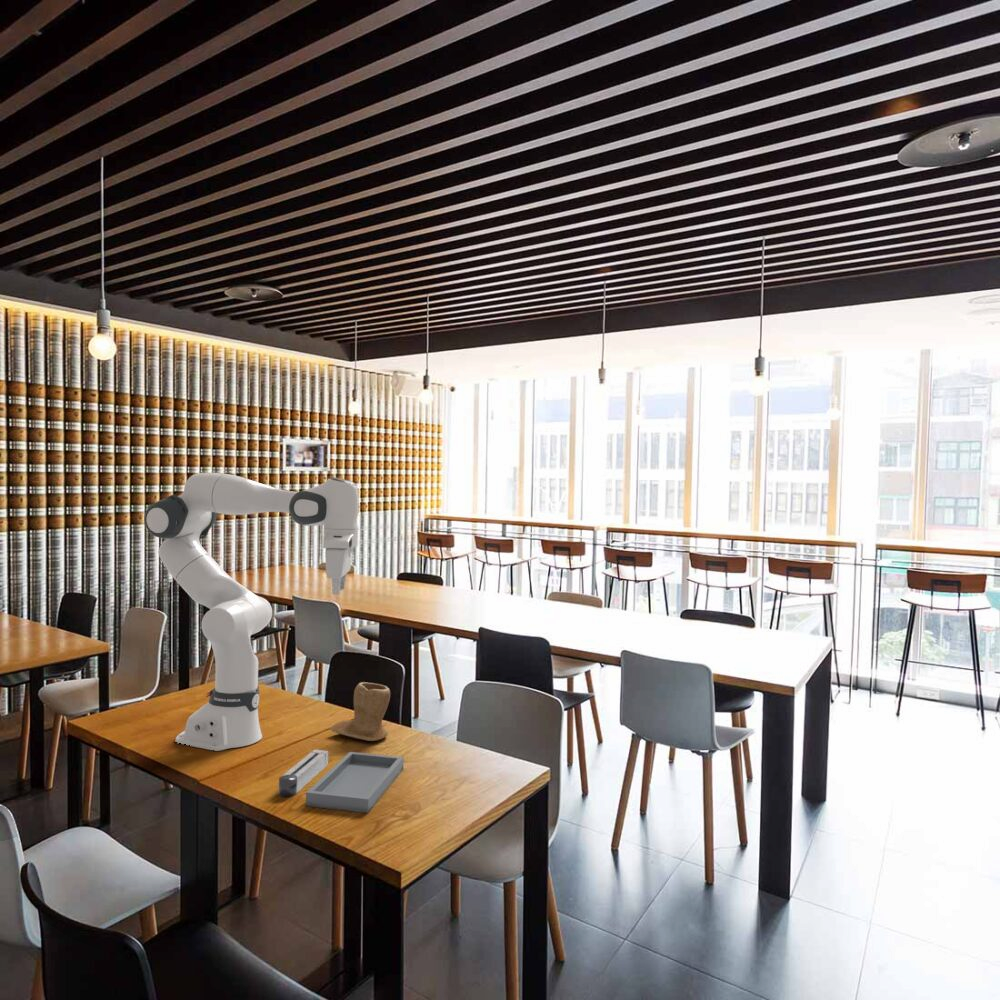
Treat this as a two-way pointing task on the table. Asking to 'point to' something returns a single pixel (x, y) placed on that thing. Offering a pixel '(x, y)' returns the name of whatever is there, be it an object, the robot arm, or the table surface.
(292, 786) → the steel tongs
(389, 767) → the utensil tray
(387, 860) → the table surface
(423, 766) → the table surface
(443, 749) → the table surface
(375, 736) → the stone cup
